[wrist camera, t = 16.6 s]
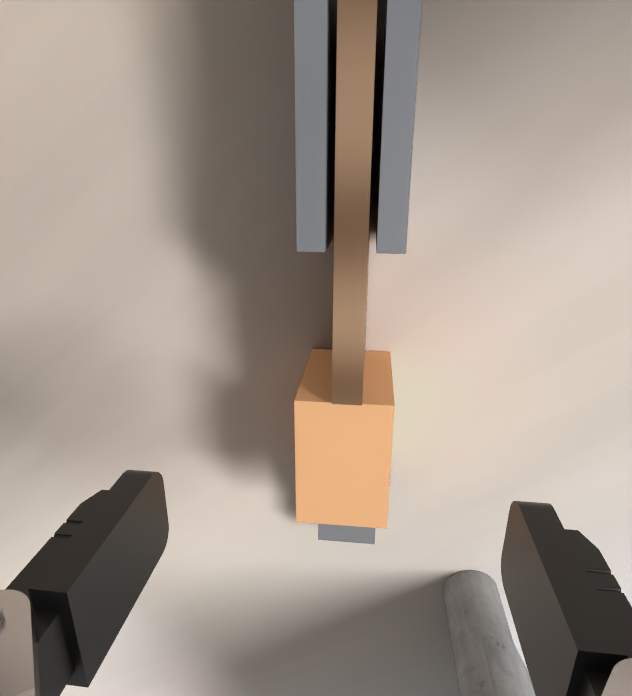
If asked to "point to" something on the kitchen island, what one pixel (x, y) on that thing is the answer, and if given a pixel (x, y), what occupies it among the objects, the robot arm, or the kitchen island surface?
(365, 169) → the gate
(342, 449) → the orange block
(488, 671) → the hip flask
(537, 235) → the kitchen island surface
